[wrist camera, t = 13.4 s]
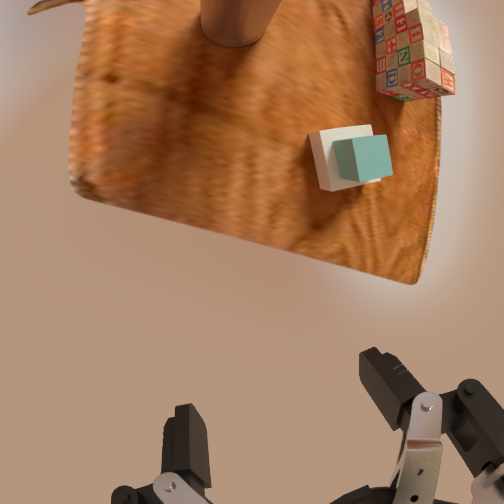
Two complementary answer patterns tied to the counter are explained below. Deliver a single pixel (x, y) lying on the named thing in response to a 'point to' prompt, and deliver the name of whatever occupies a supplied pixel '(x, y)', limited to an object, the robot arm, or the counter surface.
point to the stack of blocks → (411, 51)
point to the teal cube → (363, 158)
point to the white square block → (334, 155)
